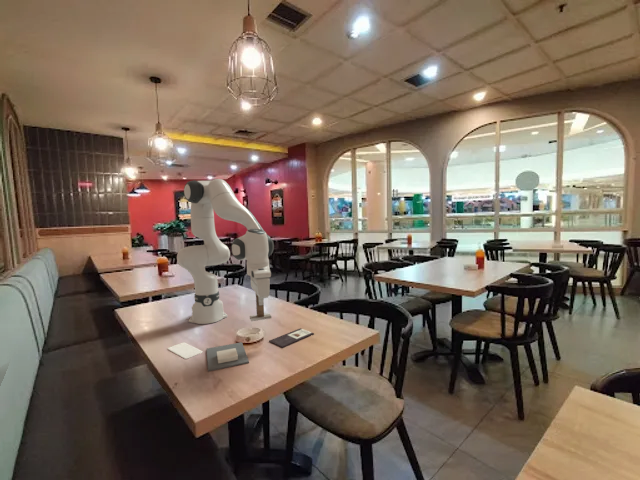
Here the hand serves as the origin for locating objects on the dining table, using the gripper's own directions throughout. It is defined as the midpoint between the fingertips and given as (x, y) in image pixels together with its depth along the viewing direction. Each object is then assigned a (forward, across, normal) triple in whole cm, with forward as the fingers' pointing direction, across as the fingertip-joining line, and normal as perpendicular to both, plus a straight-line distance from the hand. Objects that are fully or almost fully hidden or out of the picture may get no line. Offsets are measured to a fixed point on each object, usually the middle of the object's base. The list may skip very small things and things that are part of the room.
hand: (259, 303), depth 122 cm
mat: (+18, +2, -14) cm, 23 cm away
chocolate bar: (+19, -3, +14) cm, 23 cm away
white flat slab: (+19, -10, -29) cm, 36 cm away
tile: (+16, +5, -14) cm, 22 cm away
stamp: (+6, 0, 0) cm, 6 cm away
